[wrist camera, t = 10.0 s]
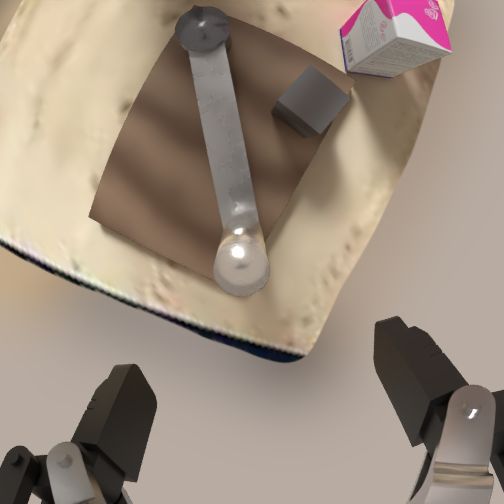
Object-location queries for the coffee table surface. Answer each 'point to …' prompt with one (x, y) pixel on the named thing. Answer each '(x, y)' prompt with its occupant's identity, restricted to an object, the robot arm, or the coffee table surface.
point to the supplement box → (393, 37)
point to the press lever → (225, 152)
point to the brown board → (195, 152)
